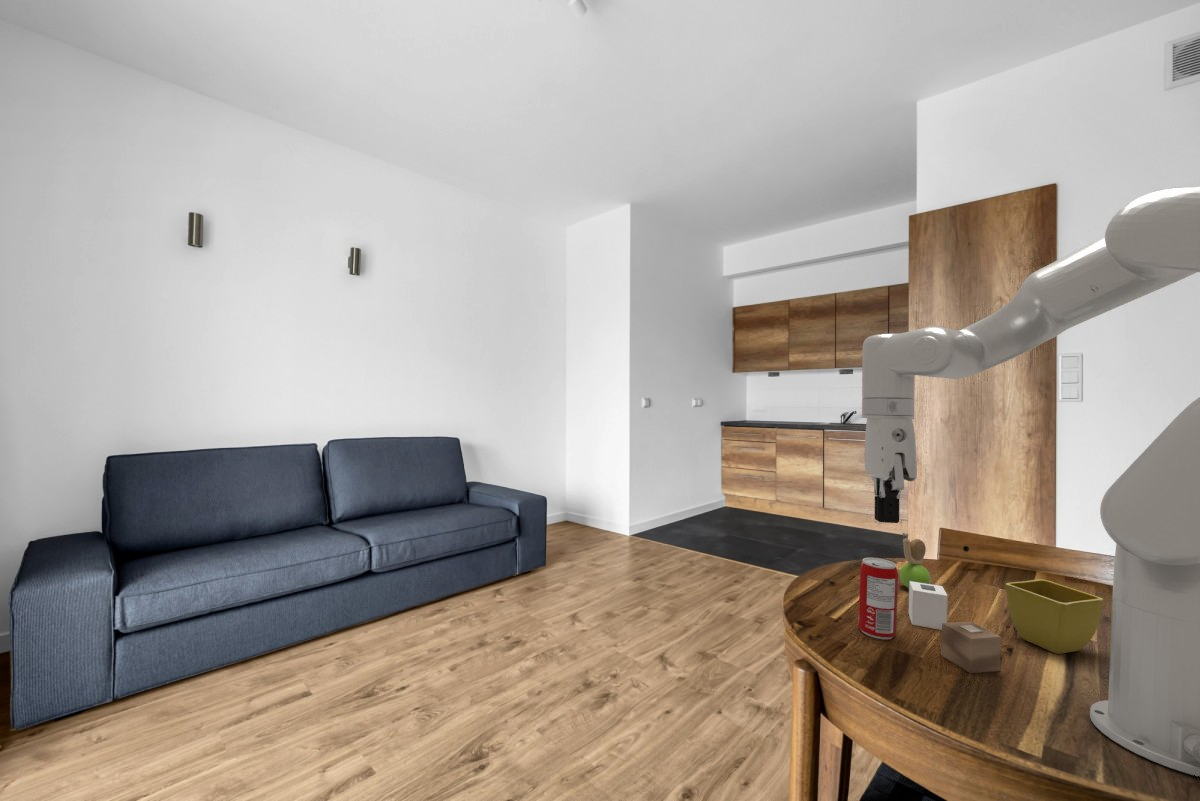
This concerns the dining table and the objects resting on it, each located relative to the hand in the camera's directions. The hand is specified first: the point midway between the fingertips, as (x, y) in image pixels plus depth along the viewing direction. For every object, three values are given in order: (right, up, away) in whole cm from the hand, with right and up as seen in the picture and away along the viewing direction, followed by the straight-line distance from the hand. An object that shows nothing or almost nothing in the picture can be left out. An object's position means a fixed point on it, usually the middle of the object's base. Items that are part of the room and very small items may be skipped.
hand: (886, 521), depth 83 cm
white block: (+10, -19, +6) cm, 22 cm away
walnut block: (+8, -19, -8) cm, 22 cm away
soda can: (-1, -19, +1) cm, 19 cm away
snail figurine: (+17, -19, +21) cm, 33 cm away
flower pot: (+25, -20, -2) cm, 32 cm away
